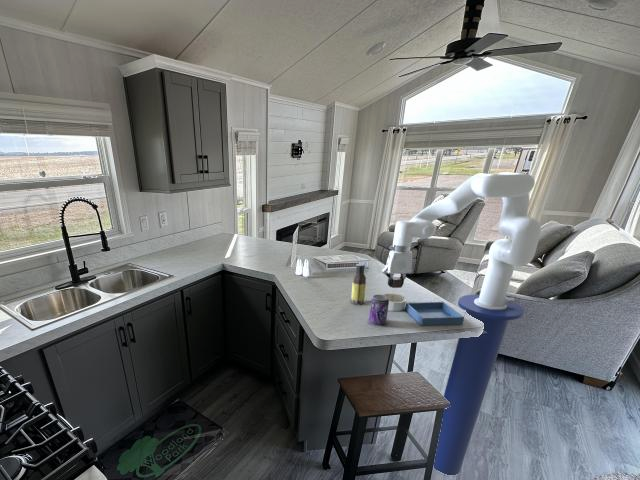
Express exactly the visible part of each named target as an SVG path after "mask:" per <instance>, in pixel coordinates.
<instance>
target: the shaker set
mask: <svg viewBox="0 0 640 480" xmlns="http://www.w3.org/2000/svg"><path fill="white" fill-rule="evenodd" d="M295 275H297V276H301V275H302V276H303V277H305V278H307V279H308V278H311V277H312V276H313V275H314V274H313V270H312V266H311V263H310V260H309V259H305V260H304V264H303V260H302V259H300V258H298V259H297V263H296V269H295Z"/></svg>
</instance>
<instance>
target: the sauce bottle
mask: <svg viewBox="0 0 640 480" xmlns="http://www.w3.org/2000/svg"><path fill="white" fill-rule="evenodd" d="M365 268H366V265H365V263H359V262H358V263H355V273H354V275H353V277H352V284H351V296H350V297H351V299H350V300H351V303H352V304H354V305H362V304H364V303H365V295H366V285H367V277H366V274H365Z"/></svg>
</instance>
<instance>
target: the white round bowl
mask: <svg viewBox="0 0 640 480" xmlns="http://www.w3.org/2000/svg"><path fill="white" fill-rule="evenodd" d="M382 295H385V296H387V297H388V300H389V306H388V311H390V312H401V311H403V310H405V306H406V303H407V297H405V296H403V295H401V294H399V293H398V294H397V293H383V294H382Z"/></svg>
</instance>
